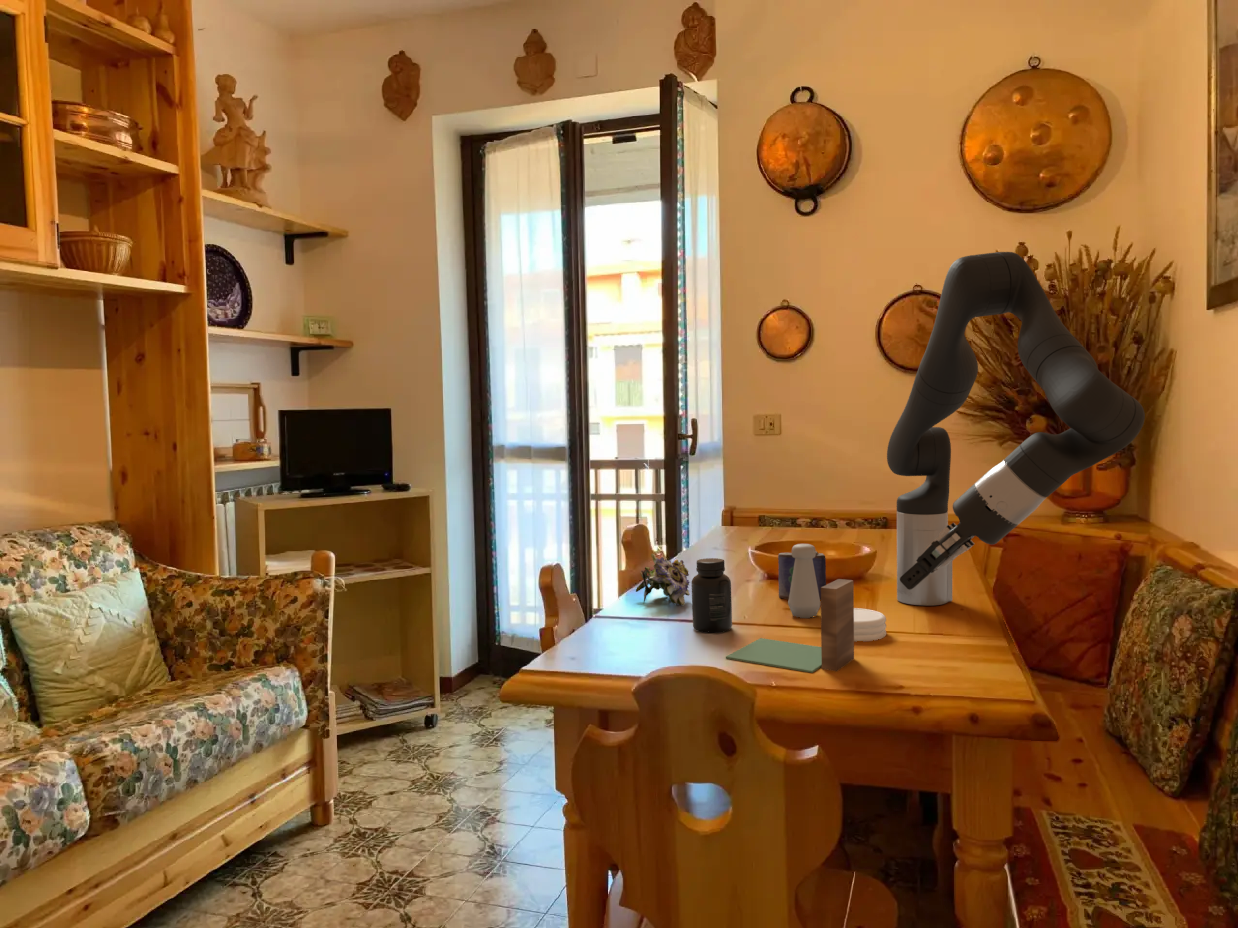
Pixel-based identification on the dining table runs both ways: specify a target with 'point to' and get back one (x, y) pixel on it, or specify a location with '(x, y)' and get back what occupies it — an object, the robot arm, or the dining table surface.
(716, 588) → the supplement bottle
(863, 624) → the coaster
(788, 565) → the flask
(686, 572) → the passion flower
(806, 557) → the salt shaker
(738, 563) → the dining table surface
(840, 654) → the wooden block
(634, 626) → the dining table surface
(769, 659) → the felt mat
